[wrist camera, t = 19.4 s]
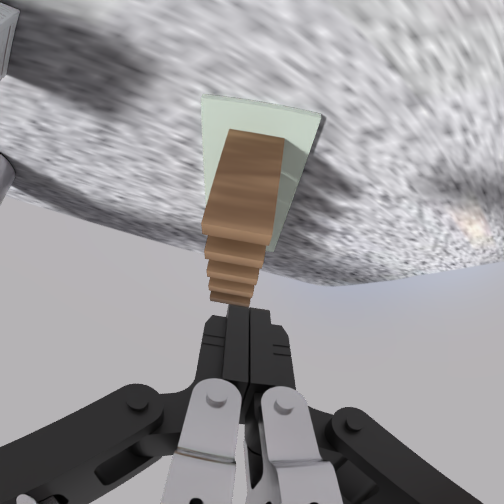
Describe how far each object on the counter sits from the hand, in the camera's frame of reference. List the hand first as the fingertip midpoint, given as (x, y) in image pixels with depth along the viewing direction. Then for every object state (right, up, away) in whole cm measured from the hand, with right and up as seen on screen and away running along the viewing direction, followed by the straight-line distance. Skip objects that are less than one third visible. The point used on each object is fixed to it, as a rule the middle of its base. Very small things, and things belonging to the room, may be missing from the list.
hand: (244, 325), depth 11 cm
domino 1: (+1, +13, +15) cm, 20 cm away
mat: (0, +10, +23) cm, 25 cm away
